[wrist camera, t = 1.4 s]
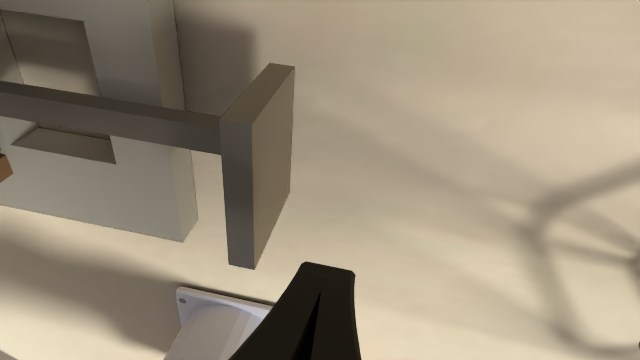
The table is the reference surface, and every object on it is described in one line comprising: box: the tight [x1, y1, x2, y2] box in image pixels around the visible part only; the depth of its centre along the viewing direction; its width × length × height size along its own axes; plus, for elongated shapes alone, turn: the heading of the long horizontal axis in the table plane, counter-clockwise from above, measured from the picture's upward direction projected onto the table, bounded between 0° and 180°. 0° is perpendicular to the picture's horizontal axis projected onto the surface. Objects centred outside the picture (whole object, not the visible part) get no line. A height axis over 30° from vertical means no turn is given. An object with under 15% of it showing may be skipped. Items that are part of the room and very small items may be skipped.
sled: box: [0, 63, 295, 270], centre depth 18 cm, size 7×23×5 cm, turn 86°
